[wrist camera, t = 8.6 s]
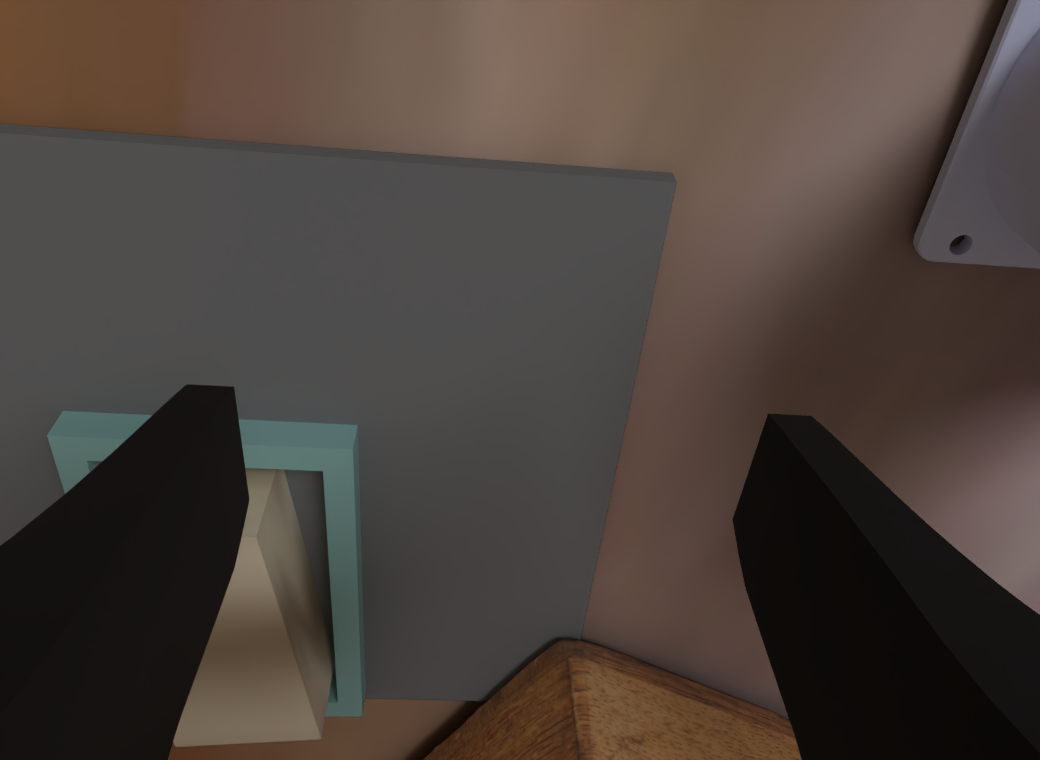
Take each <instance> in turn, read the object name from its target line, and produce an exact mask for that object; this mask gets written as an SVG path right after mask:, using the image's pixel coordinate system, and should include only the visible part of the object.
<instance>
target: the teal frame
mask: <svg viewBox="0 0 1040 760" xmlns="http://www.w3.org/2000/svg"><path fill="white" fill-rule="evenodd" d="M151 416H152V415H139V414H118V413H97V412H76V411H63V412H62V413H61V415H60V416H59V418H58V419H57V421H56V422H55V424H54V425H53V427H52V429H51V430H50V432H49V433H48V435H47V437H48V441H49V444H50V447H51V450H52V454H53V457H54V460H55V463H56V466H57V470H58V473H59V476H60V479H61V482H62V486H63V489H64V492H65V494H66V493H67V492H68V491H69V490H70V489H71V488H73V487H74V486H75V485H76V484H77V483H78V482H79V481H81V480H82V479H83V478H84V477H85V476H86V475H87V474H88V473H90V472H91V471H92V470H93V469H94V468H95V467H96V466H98V465H99V464H100V463H101V462H102V461H103V460H104V459H105V458H107V457H108V456H109V455H110V454H111V453H112V452H113V451H114V450H116V449H117V448H118V447H119V446H120V445H121V444H122V443H123V442H124V441H125V440H126V439H127V438H129V437H130V436H131V435H132V434H133V433H134V432H135V431H136V430H137V429H138V428H139V427H140V426H141V425H143V424H144V423H145V422H146V421H147V420H148V419H149V418H150V417H151ZM239 426H240V433H241V441H242V448H243V455H244V463H245V468H261V469H284V470H307V471H323V479H324V494H325V510H326V526H327V541H328V557H329V572H330V588H331V604H332V619H333V635H334V651H335V666H336V677H332V679H331V685H330V691H329V697H328V703H327V709H326V715H325V716H343V717H362V716H363V708H364V700H365V693H366V684H365V650H364V617H363V584H362V551H361V518H360V485H359V452H358V425H347V424H326V423H305V422H284V421H263V420H243V419H239Z"/></svg>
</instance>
